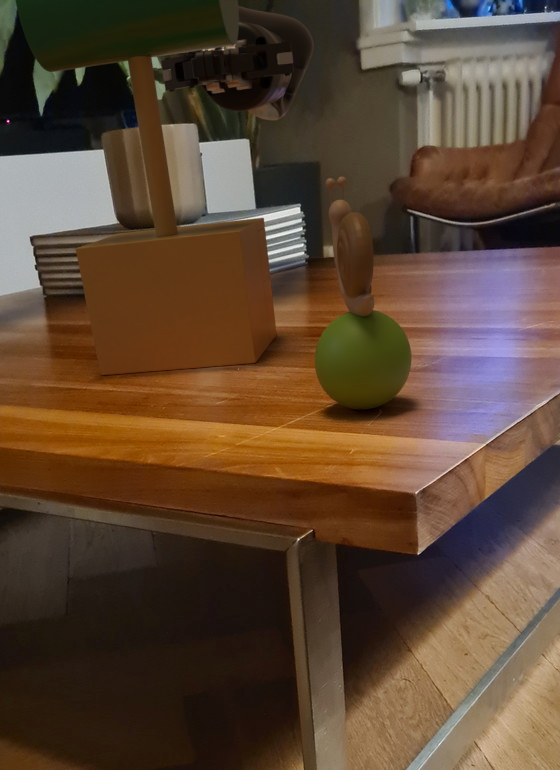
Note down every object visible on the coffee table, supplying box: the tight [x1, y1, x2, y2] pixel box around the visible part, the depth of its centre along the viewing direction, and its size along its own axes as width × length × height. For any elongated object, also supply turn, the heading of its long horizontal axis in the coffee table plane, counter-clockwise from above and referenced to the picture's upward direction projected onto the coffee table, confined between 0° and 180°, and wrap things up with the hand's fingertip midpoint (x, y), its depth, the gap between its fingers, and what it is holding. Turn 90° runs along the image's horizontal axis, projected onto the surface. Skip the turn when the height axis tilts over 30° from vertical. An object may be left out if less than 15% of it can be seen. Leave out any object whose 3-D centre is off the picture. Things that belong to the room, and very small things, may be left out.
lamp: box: [15, 0, 278, 376], centre depth 66 cm, size 10×13×27 cm
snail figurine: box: [314, 176, 413, 411], centre depth 50 cm, size 5×6×12 cm
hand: (204, 66), depth 77 cm, fingers closed
